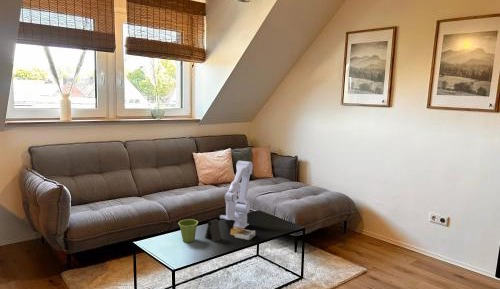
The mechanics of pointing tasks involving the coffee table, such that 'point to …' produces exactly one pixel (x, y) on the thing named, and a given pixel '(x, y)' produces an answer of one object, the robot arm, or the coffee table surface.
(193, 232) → the plant pot
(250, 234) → the coupler channel
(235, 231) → the block
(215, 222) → the dark tent-shaped stand
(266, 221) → the coffee table surface
